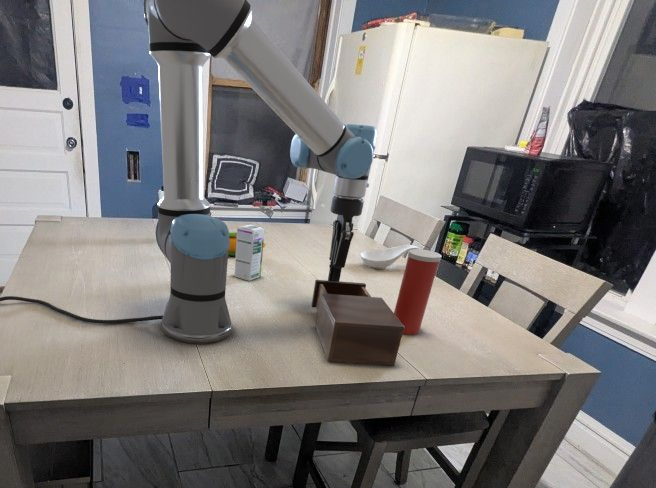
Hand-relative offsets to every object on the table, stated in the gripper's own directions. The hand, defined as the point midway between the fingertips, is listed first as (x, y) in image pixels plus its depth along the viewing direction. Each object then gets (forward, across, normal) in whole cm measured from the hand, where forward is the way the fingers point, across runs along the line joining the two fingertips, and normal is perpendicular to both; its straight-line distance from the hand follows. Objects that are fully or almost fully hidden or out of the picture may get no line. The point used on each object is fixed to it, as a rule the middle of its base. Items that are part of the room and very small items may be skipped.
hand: (331, 290), depth 128 cm
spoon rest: (+3, +39, -28) cm, 48 cm away
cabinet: (+3, -28, 0) cm, 28 cm away
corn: (+3, +40, +25) cm, 47 cm away
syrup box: (+3, +16, +22) cm, 27 cm away
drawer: (+2, -12, 0) cm, 13 cm away
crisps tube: (+3, -16, -15) cm, 22 cm away
